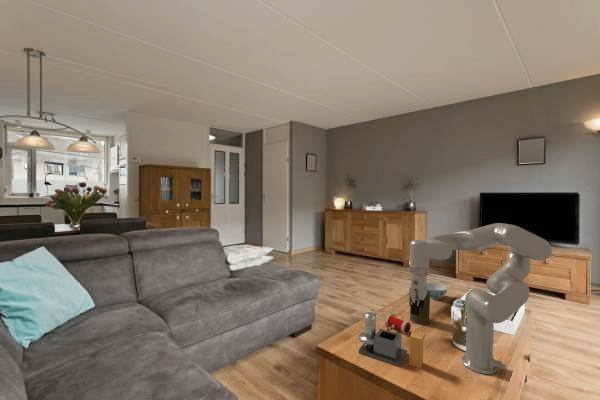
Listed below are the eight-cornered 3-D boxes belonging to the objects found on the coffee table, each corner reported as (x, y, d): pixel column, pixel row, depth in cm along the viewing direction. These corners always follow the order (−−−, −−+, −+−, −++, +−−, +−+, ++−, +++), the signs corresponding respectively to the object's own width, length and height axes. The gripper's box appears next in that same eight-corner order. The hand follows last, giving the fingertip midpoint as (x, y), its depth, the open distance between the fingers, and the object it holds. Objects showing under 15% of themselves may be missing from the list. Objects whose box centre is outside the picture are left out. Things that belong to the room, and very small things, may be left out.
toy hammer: (383, 346, 134) (384, 332, 134) (364, 336, 144) (364, 323, 144) (411, 332, 148) (411, 320, 148) (391, 324, 158) (391, 312, 157)
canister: (432, 320, 162) (433, 285, 161) (425, 326, 154) (426, 290, 154) (413, 314, 169) (414, 281, 169) (405, 320, 162) (406, 285, 161)
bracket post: (406, 353, 128) (407, 318, 128) (400, 366, 118) (401, 328, 118) (363, 340, 139) (364, 307, 138) (354, 351, 129) (355, 316, 128)
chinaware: (429, 292, 209) (429, 281, 209) (450, 298, 198) (450, 287, 198) (418, 296, 200) (419, 285, 199) (440, 303, 188) (441, 291, 188)
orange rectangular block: (422, 363, 121) (423, 335, 121) (420, 368, 117) (421, 339, 117) (411, 359, 123) (412, 332, 123) (409, 364, 120) (410, 336, 119)
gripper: (424, 276, 110) (422, 320, 111) (431, 267, 125) (430, 306, 125) (404, 273, 114) (402, 315, 115) (413, 264, 129) (412, 302, 129)
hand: (417, 310), depth 120 cm, fingers open, 9 cm apart
